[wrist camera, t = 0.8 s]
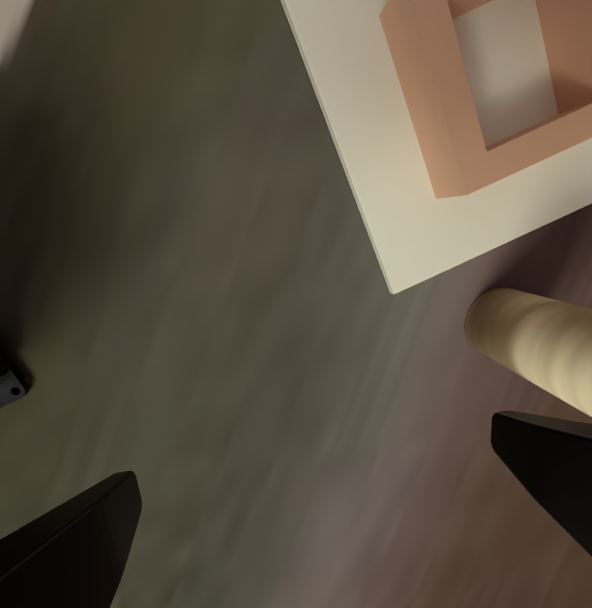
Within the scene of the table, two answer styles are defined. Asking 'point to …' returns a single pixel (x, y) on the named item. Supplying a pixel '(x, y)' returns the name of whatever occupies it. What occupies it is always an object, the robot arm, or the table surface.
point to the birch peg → (536, 341)
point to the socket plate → (453, 119)
